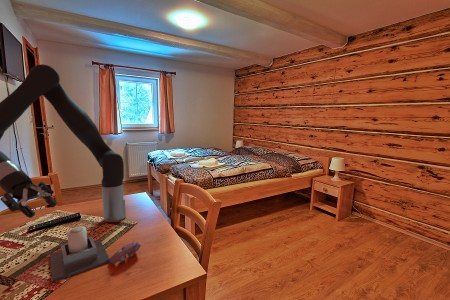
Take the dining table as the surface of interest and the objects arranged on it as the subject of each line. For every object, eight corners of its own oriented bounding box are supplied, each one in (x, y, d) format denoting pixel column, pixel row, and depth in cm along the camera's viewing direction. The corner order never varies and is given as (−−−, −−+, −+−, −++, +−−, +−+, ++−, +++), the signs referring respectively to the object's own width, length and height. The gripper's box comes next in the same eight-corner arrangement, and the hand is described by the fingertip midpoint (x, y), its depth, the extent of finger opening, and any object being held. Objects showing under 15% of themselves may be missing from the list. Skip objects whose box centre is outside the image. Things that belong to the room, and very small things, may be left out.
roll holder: (100, 241, 91) (99, 230, 90) (110, 261, 79) (109, 248, 78) (50, 257, 81) (48, 244, 80) (52, 282, 69) (51, 267, 68)
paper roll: (87, 250, 83) (84, 224, 82) (89, 257, 79) (87, 230, 78) (69, 255, 80) (66, 229, 78) (70, 263, 76) (67, 235, 74)
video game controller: (114, 271, 76) (119, 257, 74) (107, 261, 78) (111, 247, 76) (139, 256, 85) (144, 243, 82) (131, 247, 87) (136, 234, 84)
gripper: (-7, 175, 70) (31, 212, 70) (35, 165, 84) (67, 196, 84) (-20, 191, 71) (18, 227, 72) (24, 178, 85) (55, 209, 86)
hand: (44, 210), depth 78 cm, fingers open, 8 cm apart
